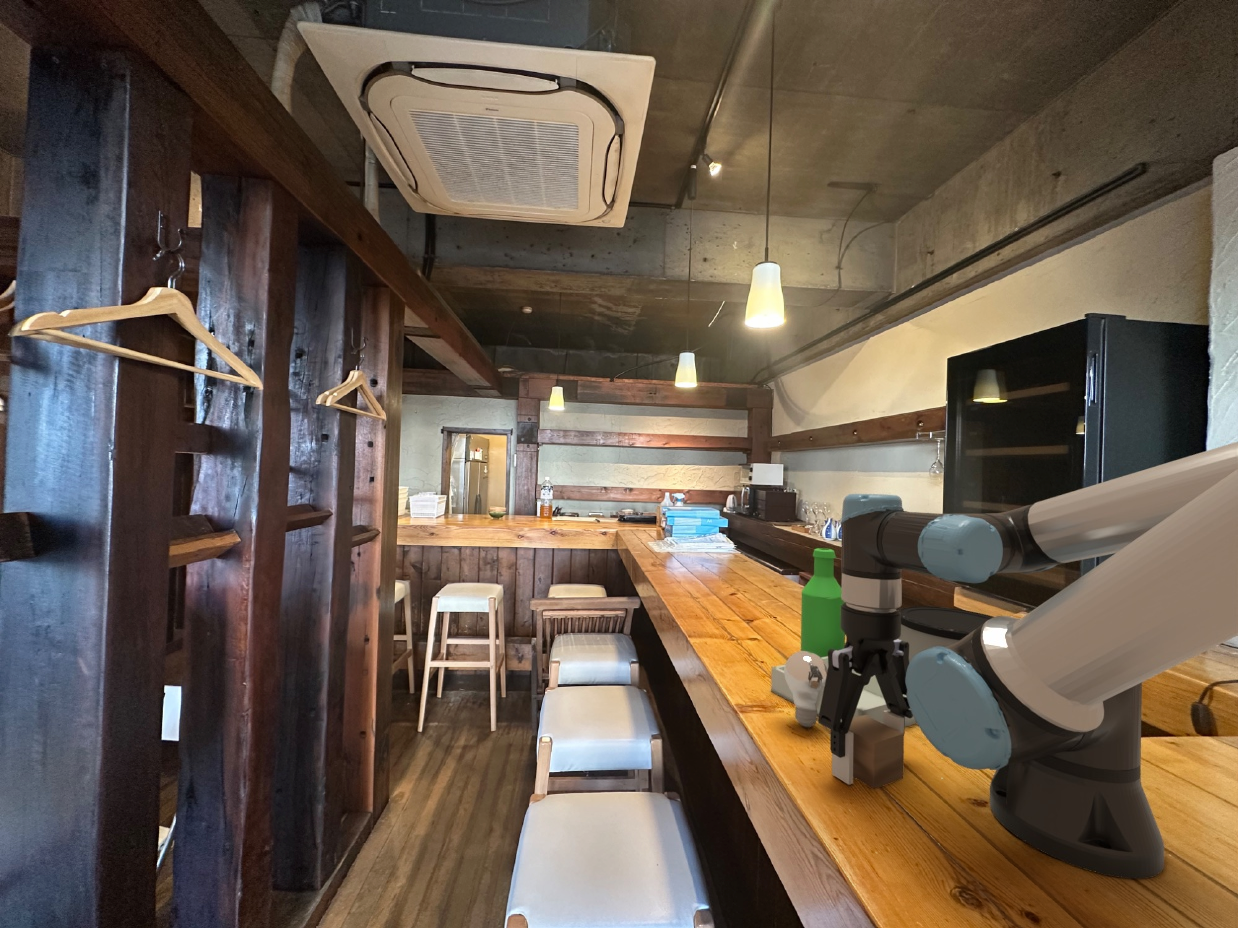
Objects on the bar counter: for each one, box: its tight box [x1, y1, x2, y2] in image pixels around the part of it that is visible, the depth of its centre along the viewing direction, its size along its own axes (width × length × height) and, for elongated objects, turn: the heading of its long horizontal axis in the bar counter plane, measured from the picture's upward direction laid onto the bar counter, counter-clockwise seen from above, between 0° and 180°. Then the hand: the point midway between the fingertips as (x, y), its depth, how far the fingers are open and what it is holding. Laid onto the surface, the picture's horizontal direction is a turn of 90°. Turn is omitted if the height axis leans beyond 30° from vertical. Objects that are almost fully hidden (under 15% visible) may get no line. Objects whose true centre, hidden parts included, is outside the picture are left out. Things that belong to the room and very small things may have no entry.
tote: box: [770, 656, 917, 728], centre depth 92 cm, size 20×17×4 cm
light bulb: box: [784, 650, 828, 729], centre depth 84 cm, size 7×7×12 cm
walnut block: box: [849, 715, 905, 790], centre depth 71 cm, size 6×6×6 cm
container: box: [898, 605, 994, 663], centre depth 95 cm, size 19×19×15 cm
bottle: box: [800, 547, 846, 657], centre depth 111 cm, size 9×9×25 cm
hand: (868, 769), depth 71 cm, fingers open, 10 cm apart
